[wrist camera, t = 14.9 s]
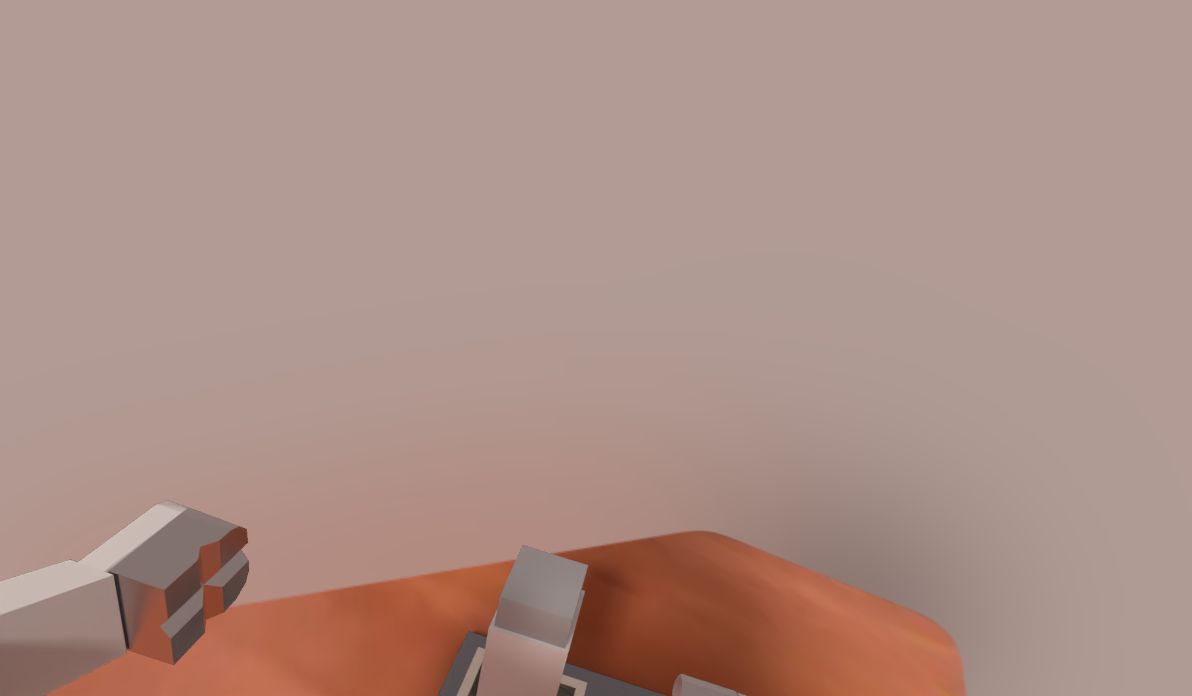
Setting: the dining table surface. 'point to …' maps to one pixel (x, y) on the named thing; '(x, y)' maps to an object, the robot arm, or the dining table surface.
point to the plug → (532, 626)
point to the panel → (577, 691)
